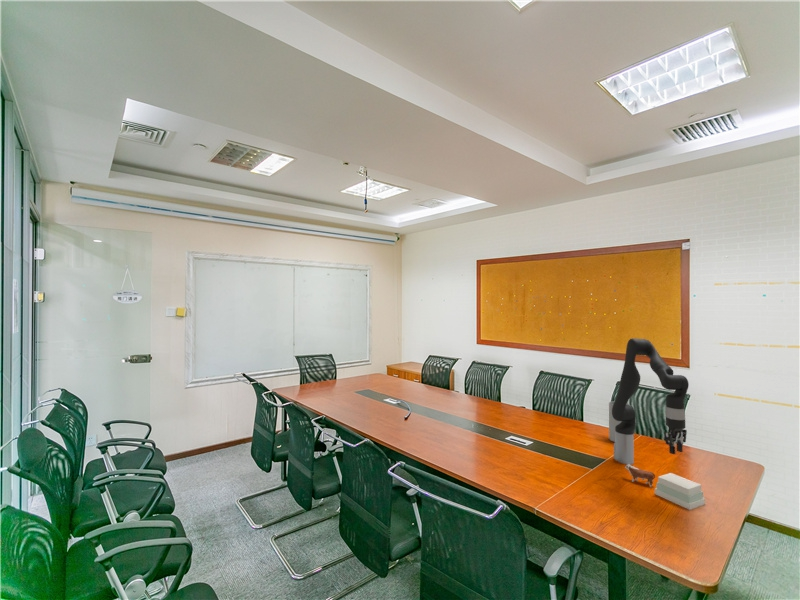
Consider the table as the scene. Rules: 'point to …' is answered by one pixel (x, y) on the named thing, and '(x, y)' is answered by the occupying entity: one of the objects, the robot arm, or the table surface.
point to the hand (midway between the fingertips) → (676, 452)
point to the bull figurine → (640, 474)
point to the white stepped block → (680, 491)
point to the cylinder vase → (612, 422)
